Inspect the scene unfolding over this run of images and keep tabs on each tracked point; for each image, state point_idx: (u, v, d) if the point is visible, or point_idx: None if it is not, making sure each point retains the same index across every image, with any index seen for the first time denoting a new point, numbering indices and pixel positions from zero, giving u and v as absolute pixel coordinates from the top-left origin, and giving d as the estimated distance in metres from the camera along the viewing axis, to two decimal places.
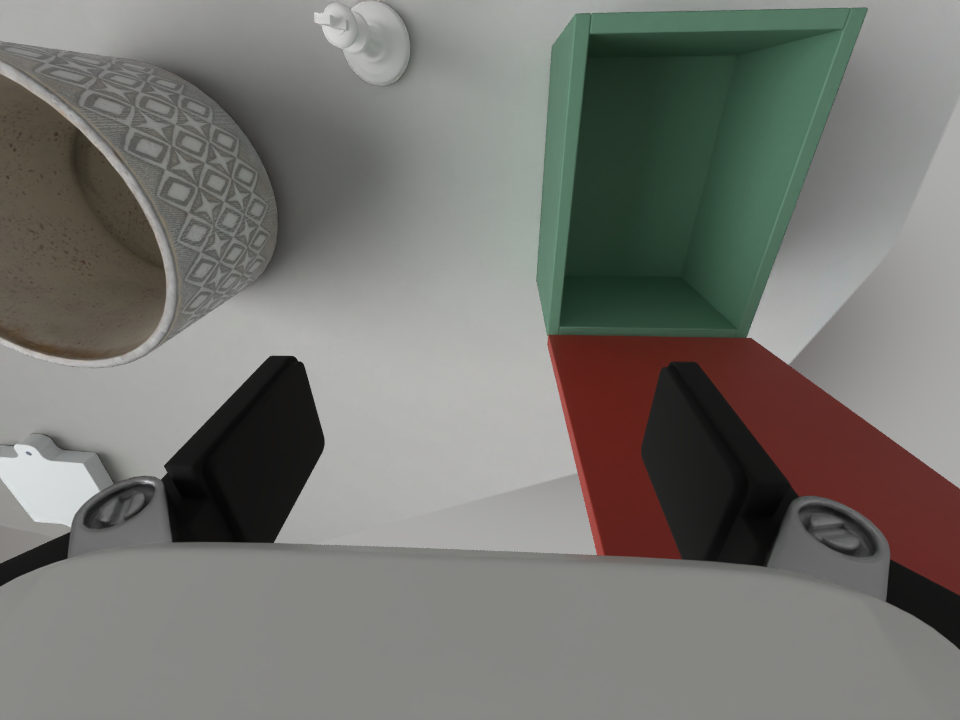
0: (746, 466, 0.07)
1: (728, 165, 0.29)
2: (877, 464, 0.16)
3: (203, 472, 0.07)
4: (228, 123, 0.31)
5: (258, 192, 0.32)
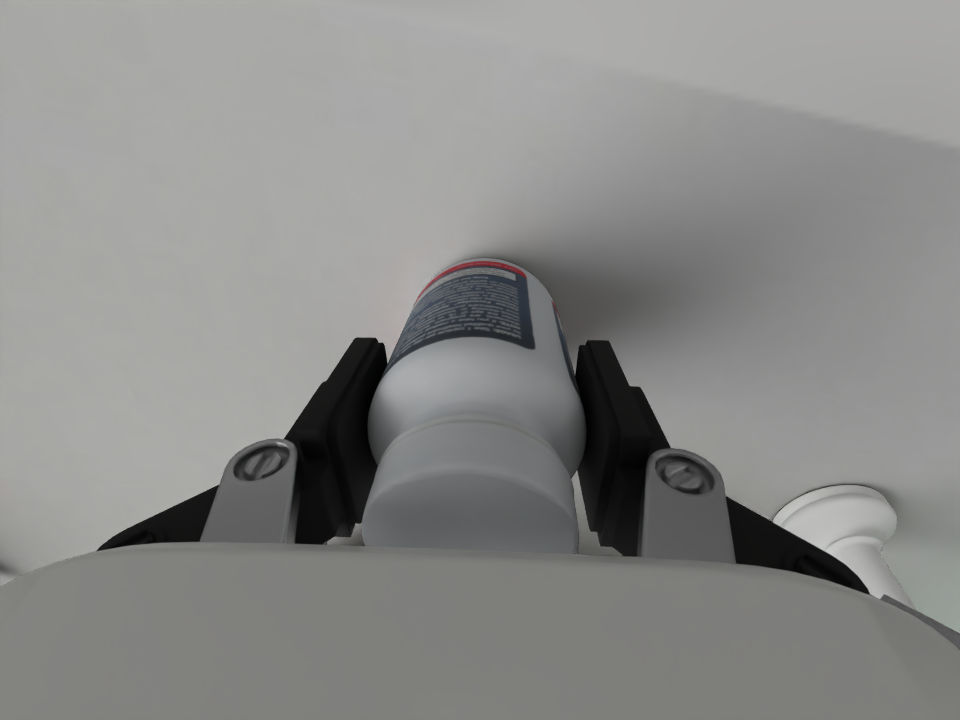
0: (620, 424, 0.08)
1: None
2: None
3: (326, 436, 0.08)
4: None
5: None
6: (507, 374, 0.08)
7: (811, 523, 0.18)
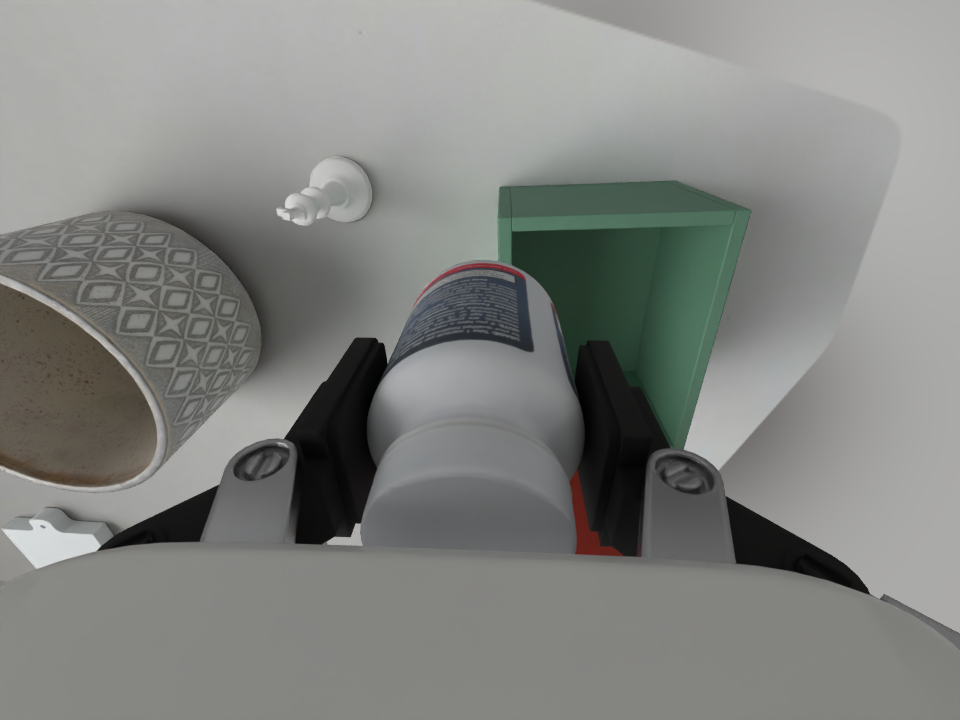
0: (620, 424, 0.08)
1: (663, 290, 0.32)
2: None
3: (326, 435, 0.08)
4: (211, 261, 0.34)
5: (240, 318, 0.35)
6: (506, 377, 0.08)
7: (314, 179, 0.32)
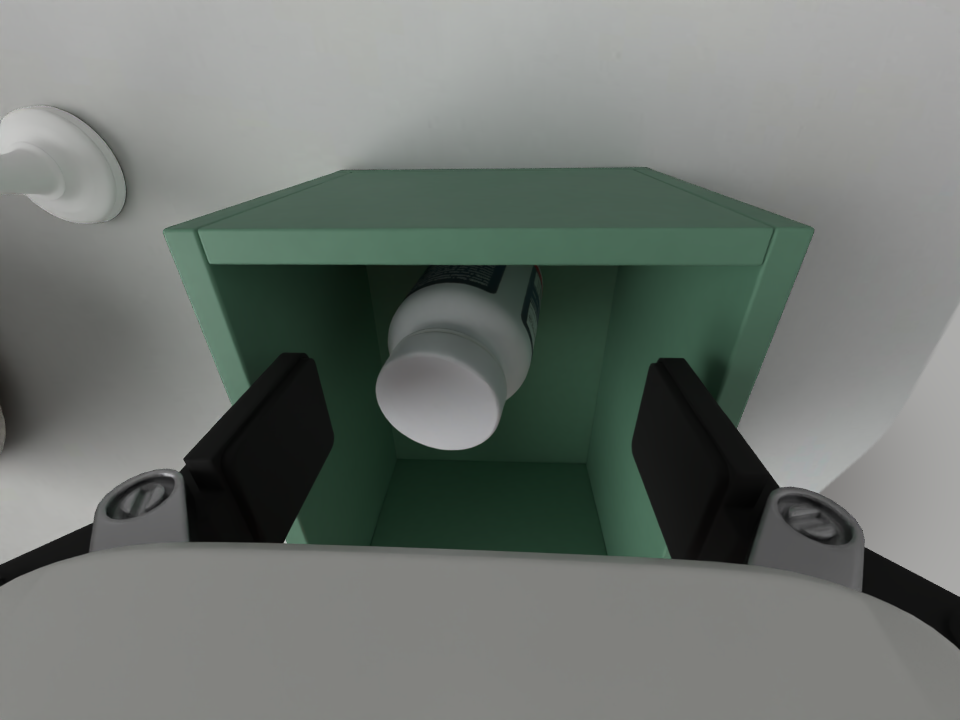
0: (727, 458, 0.07)
1: (622, 359, 0.18)
2: None
3: (221, 465, 0.07)
4: None
5: None
6: (471, 307, 0.13)
7: (2, 145, 0.18)
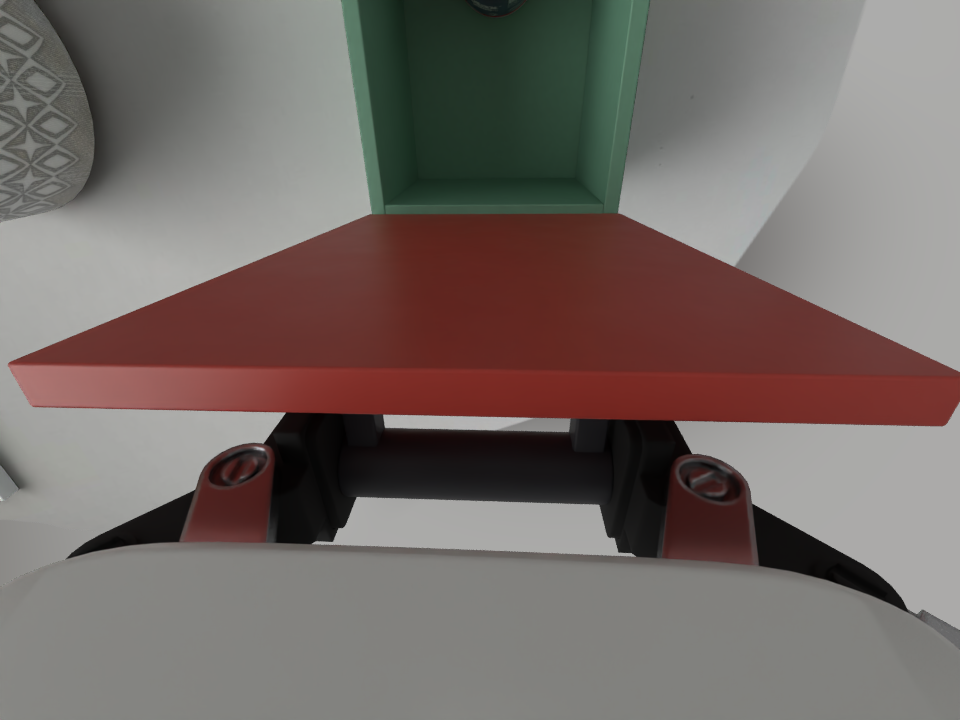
0: (642, 429, 0.08)
1: (600, 8, 0.24)
2: (672, 273, 0.10)
3: (305, 440, 0.08)
4: None
5: (42, 61, 0.26)
6: None
7: None
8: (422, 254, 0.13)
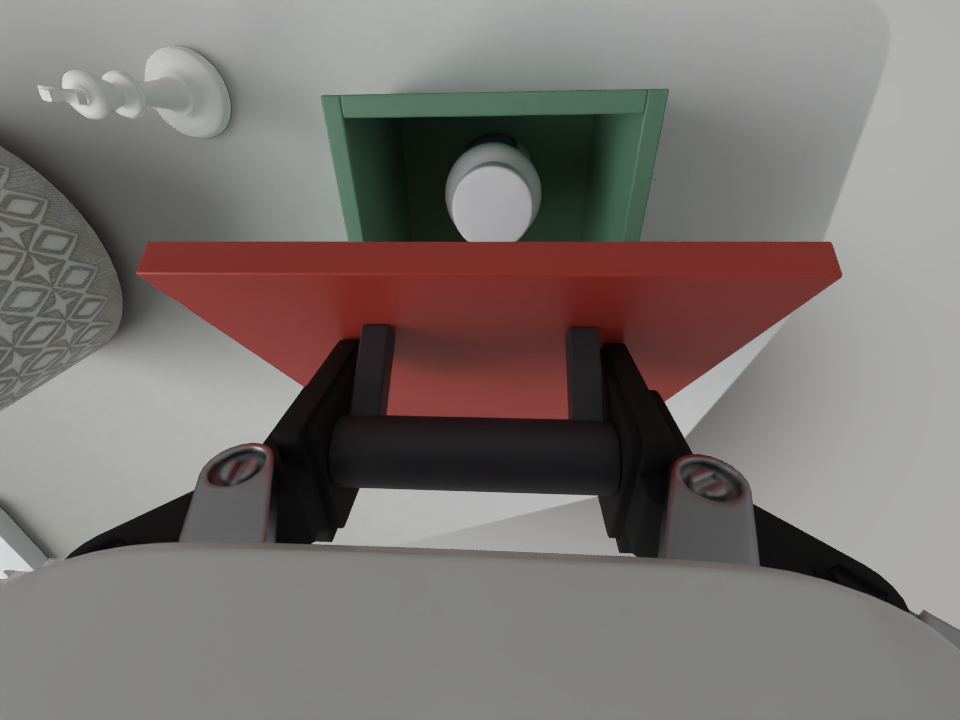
0: (642, 429, 0.08)
1: (589, 231, 0.26)
2: None
3: (304, 440, 0.08)
4: (33, 183, 0.27)
5: (77, 257, 0.29)
6: (506, 153, 0.21)
7: (149, 75, 0.25)
8: None
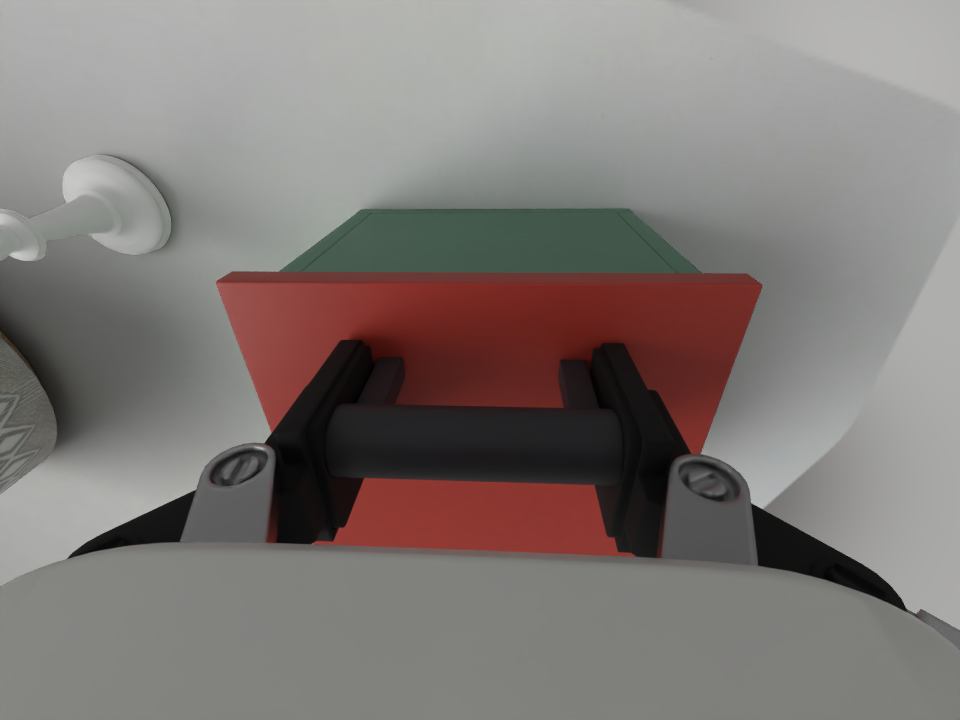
0: (641, 429, 0.08)
1: None
2: None
3: (306, 440, 0.08)
4: None
5: None
6: None
7: (66, 189, 0.20)
8: None
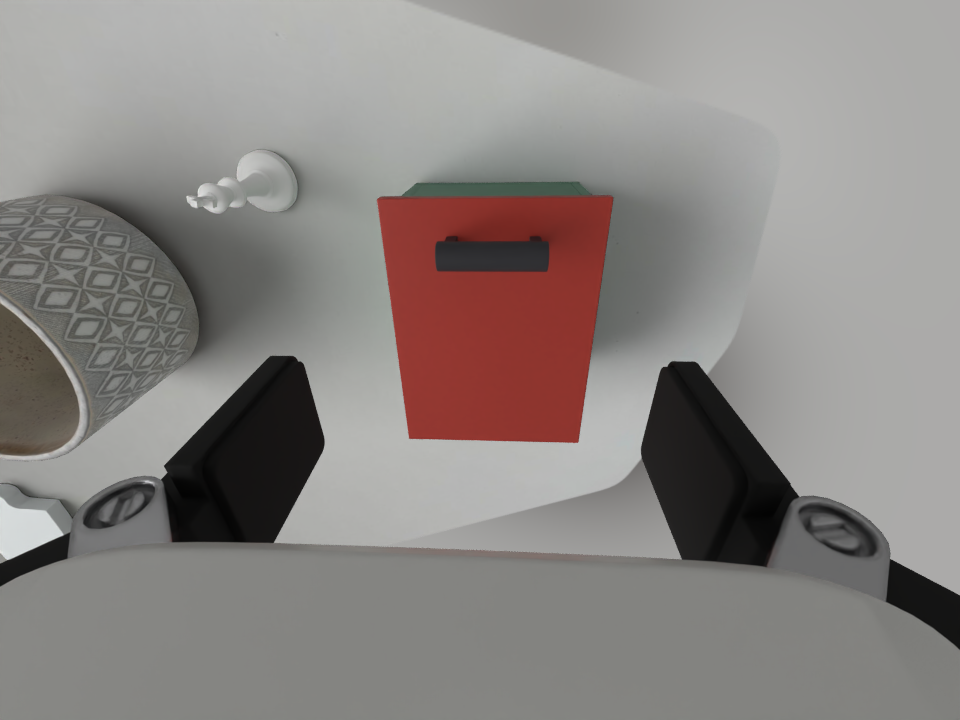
0: (746, 466, 0.07)
1: None
2: None
3: (203, 472, 0.07)
4: (145, 245, 0.36)
5: (173, 300, 0.37)
6: None
7: (240, 170, 0.34)
8: None
